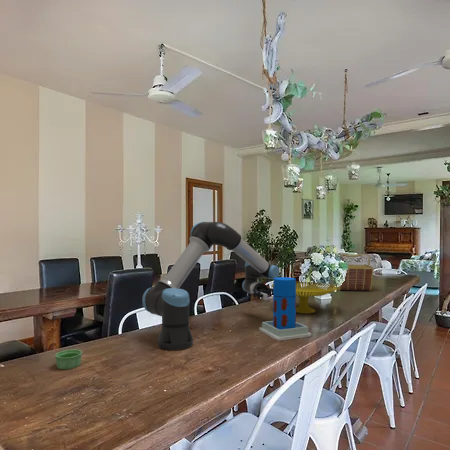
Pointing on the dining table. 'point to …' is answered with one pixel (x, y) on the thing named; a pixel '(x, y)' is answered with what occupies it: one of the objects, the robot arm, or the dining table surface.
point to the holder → (285, 331)
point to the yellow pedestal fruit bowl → (306, 292)
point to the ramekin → (68, 359)
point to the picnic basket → (358, 276)
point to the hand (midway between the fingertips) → (279, 296)
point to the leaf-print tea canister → (284, 303)
